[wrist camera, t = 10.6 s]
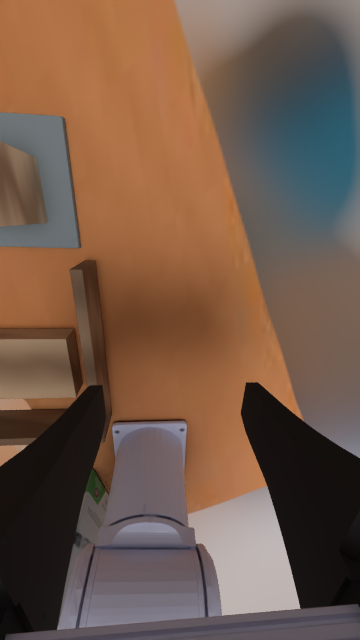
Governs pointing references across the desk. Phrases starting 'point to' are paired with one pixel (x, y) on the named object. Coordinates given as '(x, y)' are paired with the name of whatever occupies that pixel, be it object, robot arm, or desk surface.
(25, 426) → the walnut open-sided frame
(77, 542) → the ink box
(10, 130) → the slate mat
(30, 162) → the maple block
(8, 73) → the desk surface
